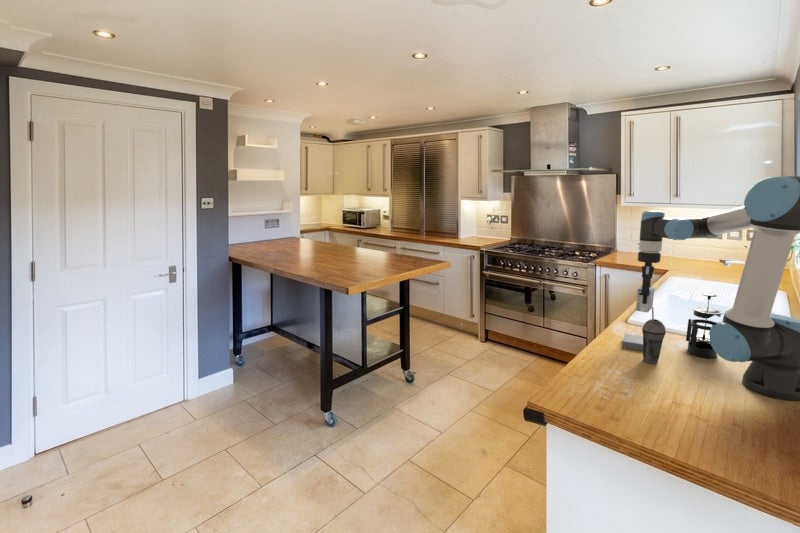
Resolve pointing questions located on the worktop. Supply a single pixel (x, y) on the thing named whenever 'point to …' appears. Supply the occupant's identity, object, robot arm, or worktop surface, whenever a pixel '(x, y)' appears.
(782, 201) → the robot arm
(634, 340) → the base board
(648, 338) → the beverage cup
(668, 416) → the worktop surface
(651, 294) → the medicine box
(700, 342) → the french press
